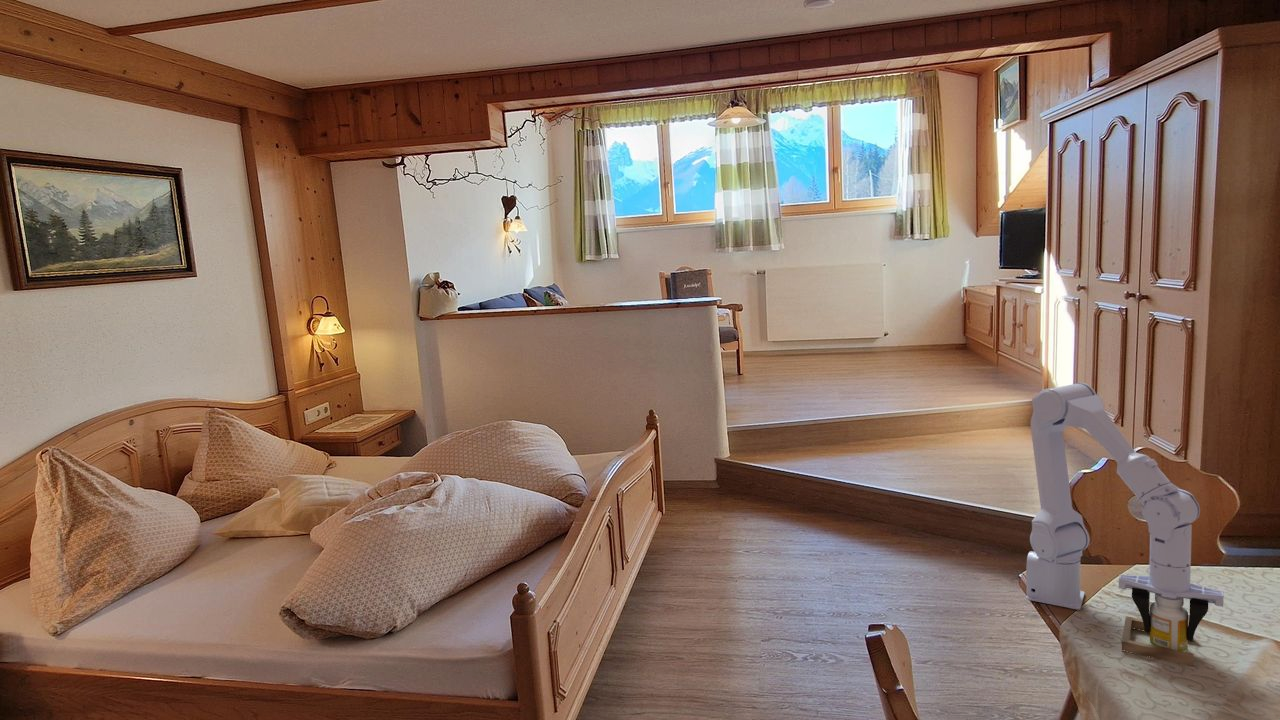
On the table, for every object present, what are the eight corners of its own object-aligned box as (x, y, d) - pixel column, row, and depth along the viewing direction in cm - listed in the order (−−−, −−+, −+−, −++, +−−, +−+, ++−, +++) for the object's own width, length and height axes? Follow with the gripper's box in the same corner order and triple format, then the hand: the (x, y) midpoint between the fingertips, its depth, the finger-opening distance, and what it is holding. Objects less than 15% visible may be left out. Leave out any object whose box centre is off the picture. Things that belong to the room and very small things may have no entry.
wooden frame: (1121, 650, 125) (1121, 641, 125) (1125, 625, 133) (1125, 616, 133) (1193, 666, 119) (1193, 656, 119) (1193, 638, 127) (1193, 629, 127)
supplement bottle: (1180, 640, 127) (1181, 589, 126) (1192, 657, 122) (1194, 603, 121) (1145, 637, 129) (1145, 586, 127) (1155, 653, 124) (1156, 601, 122)
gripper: (1117, 561, 125) (1116, 634, 126) (1225, 578, 116) (1222, 656, 118) (1120, 546, 130) (1120, 616, 132) (1223, 561, 121) (1221, 636, 123)
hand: (1168, 634), depth 125 cm, fingers closed on supplement bottle, 5 cm apart
